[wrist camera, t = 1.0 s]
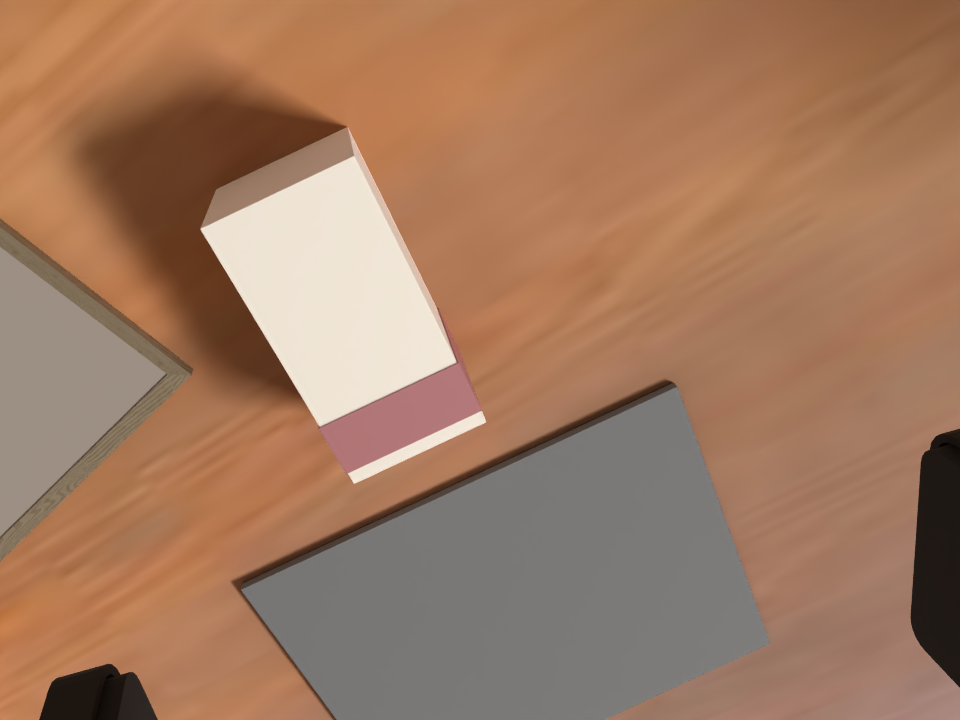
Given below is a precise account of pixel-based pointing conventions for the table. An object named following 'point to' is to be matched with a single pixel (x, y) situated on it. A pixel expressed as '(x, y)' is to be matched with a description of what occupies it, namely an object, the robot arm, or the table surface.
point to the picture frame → (65, 383)
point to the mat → (528, 585)
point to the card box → (343, 305)
